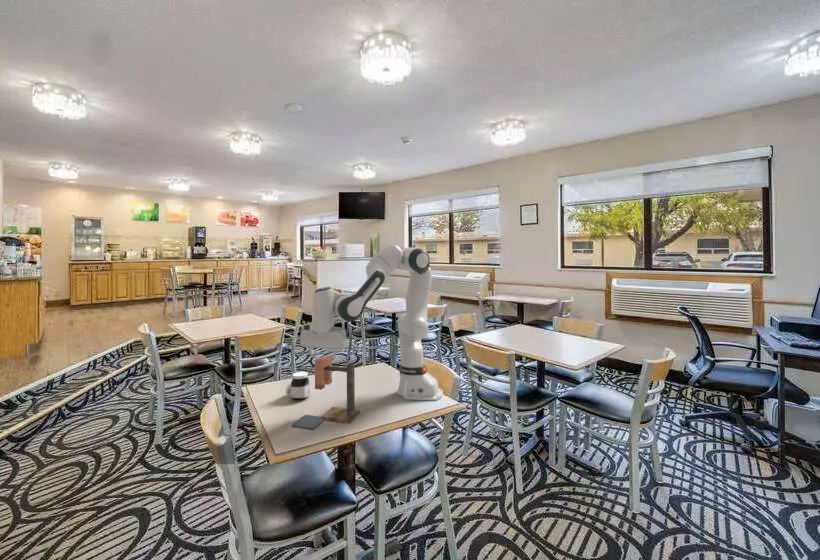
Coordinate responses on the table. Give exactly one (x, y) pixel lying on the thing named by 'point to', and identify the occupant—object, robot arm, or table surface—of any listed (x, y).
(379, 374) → the table surface
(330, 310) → the robot arm
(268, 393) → the table surface
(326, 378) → the link
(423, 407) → the table surface
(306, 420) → the coaster
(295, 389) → the spread jar
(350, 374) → the stand
